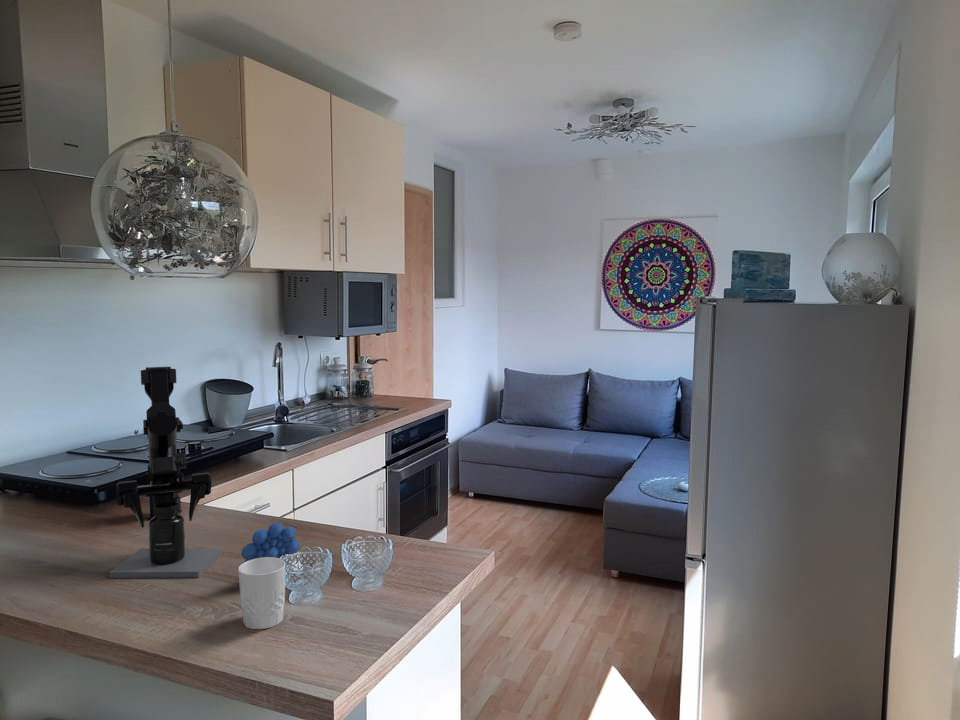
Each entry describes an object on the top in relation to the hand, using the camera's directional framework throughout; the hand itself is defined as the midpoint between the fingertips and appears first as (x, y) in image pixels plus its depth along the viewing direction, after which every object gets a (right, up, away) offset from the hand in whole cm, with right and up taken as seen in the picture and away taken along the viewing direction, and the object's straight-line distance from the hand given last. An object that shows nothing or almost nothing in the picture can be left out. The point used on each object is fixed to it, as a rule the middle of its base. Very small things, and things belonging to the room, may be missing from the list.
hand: (167, 523), depth 141 cm
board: (0, -9, 0) cm, 9 cm away
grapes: (+24, -10, -7) cm, 27 cm away
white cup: (+28, -11, -24) cm, 39 cm away
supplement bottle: (0, -8, +1) cm, 8 cm away
